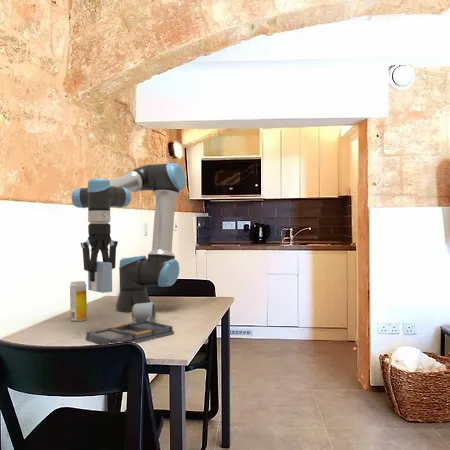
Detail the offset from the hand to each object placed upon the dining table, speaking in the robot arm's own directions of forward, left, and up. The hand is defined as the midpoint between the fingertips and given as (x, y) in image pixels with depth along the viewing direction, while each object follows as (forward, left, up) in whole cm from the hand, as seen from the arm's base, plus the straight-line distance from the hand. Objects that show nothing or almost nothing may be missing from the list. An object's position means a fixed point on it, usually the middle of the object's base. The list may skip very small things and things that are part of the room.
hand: (100, 290), depth 161 cm
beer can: (-24, +5, -15) cm, 29 cm away
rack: (+14, +3, -15) cm, 20 cm away
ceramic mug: (0, +19, -15) cm, 24 cm away
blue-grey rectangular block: (0, 0, 0) cm, 0 cm away
